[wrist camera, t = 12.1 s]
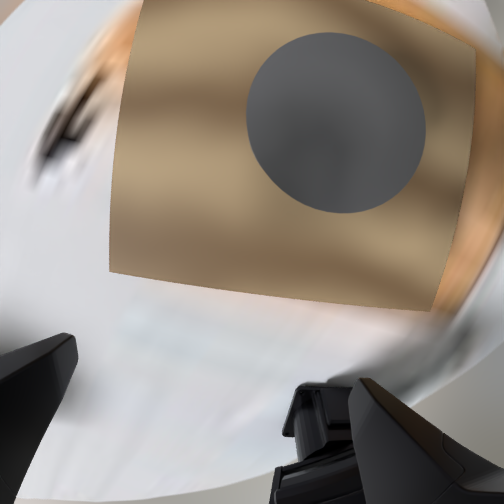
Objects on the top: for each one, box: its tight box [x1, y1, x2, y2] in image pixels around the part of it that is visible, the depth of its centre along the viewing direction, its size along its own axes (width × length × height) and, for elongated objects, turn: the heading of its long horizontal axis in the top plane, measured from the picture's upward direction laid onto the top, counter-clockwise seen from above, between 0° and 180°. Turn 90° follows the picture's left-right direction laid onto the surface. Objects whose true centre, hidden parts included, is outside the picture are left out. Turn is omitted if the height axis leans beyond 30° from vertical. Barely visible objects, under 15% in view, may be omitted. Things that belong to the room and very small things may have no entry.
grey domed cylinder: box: [246, 32, 426, 213], centre depth 11 cm, size 6×6×5 cm
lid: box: [109, 0, 476, 312], centre depth 14 cm, size 16×18×1 cm
